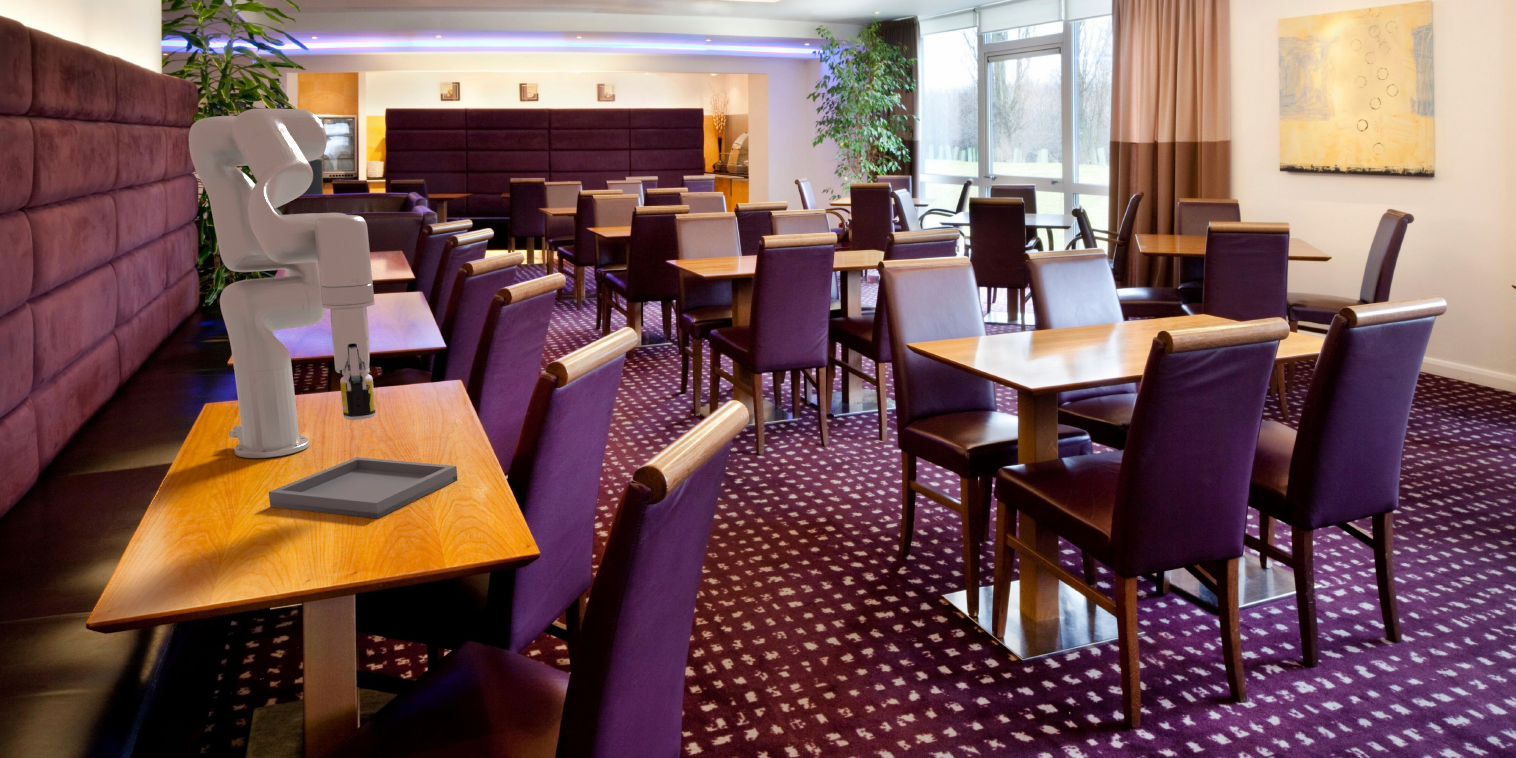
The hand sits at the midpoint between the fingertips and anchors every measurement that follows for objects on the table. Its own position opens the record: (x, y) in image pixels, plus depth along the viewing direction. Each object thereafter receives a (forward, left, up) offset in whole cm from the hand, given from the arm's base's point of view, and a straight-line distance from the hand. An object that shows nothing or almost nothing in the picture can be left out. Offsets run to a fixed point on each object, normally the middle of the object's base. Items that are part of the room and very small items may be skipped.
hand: (359, 410), depth 166 cm
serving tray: (0, 0, -13) cm, 13 cm away
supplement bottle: (0, 0, -1) cm, 1 cm away
